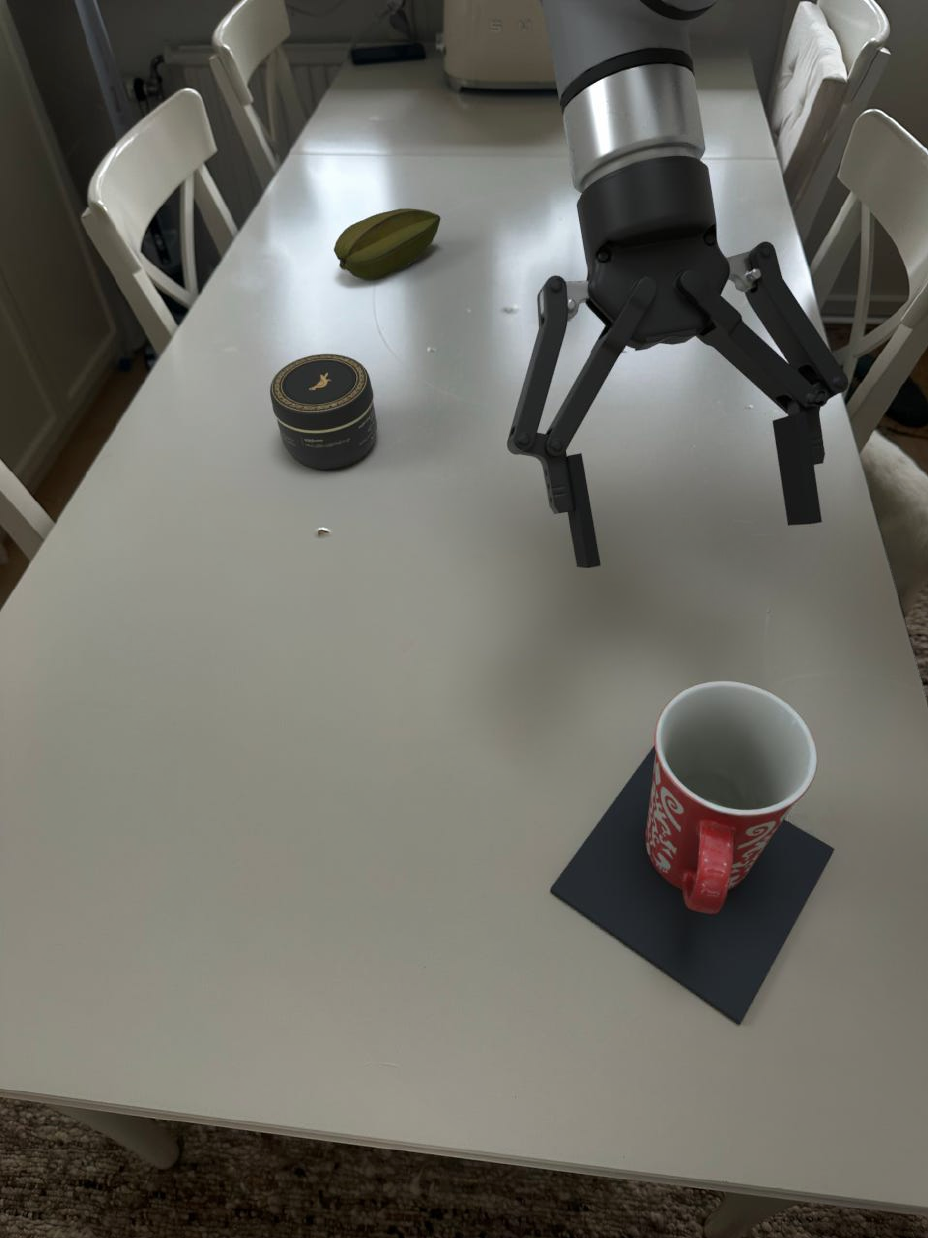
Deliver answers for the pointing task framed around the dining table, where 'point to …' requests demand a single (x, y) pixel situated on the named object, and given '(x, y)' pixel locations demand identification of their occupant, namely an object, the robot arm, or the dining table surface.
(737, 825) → the mug
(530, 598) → the dining table surface
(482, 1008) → the dining table surface
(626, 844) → the mat
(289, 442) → the jar
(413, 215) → the fruit
